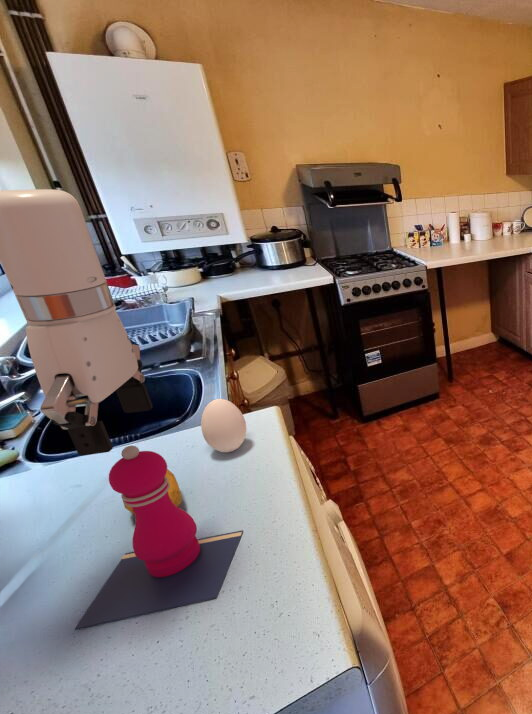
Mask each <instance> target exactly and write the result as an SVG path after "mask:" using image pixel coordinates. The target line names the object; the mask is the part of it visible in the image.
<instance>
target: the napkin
mask: <svg viewBox="0 0 532 714" xmlns="http://www.w3.org/2000/svg"><path fill="white" fill-rule="evenodd" d="M243 533H244V530H243V529H241V530H237V531H236V530H235V531H231V532H226V533H221V534H217V535H210V536H207V537H201V538H197V540H198V543H199V545H200V552H199V554H198V556H197V558H196V559H195V560H194V561H193V562H192V563H191V564H190V565H189V566H187V567H186V568H185V569H183V570H181V571H179V572H178V573H175V574H173V575H170V576H166V577H154V576H152V575H150V573H149V572H148V570H147V567H146V565H145V561H143V560H140V559H138V558H137V556H136V555H135V553H134V551H130V552H126V553H124V554H123V555H122V557H121V559H120V560H119V562H118V564H117V565H116V567H115V568H114V569H113V571H112V573H111V574H110V575H109V577H108V578H107V580H106V581H105V583H104V584H103V585H102V587H101V589H100V590H99V592H98V593H97V595H95V597H94V598H93V600H92V601H91V604H90V605H89V606H88V608H87V609H86V611H85V612H84V613H83V615H82V617H81V618H80V619H79V621H78V622H77V623H76V625H75V627H74V628H73V629H74V631H78V630H79V631H80V630H83V629H88V628H92V627H96V626H101V625H105V624H109V623H114V622H119V621H123V620H127V619H131V618H135V617H140V616H145V615H151V614H153V613H157V612H159V613H160V612H162V611H167V610H171V609H176V608H180V607H181V608H182V607H186V606H190V605H194V604H198V603H201V602H202V603H203V602H207V601H211V600H216V599H217V598H218V596H219V594H220V591H221V589H222V586H223V583H224V582H225V580H226V579H225V578H226V576H227V575H228V574H227V573H228V570H229V569H230V567H231V566H230V565H231V563H232V561H233V558H234V555H235V553H236V551H237V548H238V546H239V543H240V541H241V538H242V535H243Z"/></svg>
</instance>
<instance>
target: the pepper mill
mask: <svg viewBox="0 0 532 714" xmlns="http://www.w3.org/2000/svg"><path fill="white" fill-rule="evenodd" d="M120 454H121V458H120V459H119V460H117V461H116V462H115V463H114V464H113V465H112V467H111V468H110V470H109V474H108V482H109V483H108V484H109V486H110V487H111V489H112V490H113V491H114V492H116V493H118V494H121V499H122V501H123V500H124V503H123V505H124V504H125V505H126V506H128V507H132V509H133V510H134V513H135V515H134V516H135V525H134V530H133V535H132V549H133V552H134V553H135V555H136V556H137V558H138V559H140V560H143V561H145V565H146V567H147V570H148V572H149V573H150V575H152V576H154V577H166V576H170V575H173V574H175V573H178V572H179V571H181V570H183V569H185V568H186V567H187V566H189V565H190V564H191V563H192V562H193V561H194V560H195V559H196V558H197V556H198V554H199V552H200V545H199V543H198V540H197V539H198V538H197V537H196V534H197V529H198V528H197V524H196V521H195V519H194V518H193V517H192V516H191V515H190V514H189V512H187V511H186V510H184V509H182V508H180V507H179V506H178V507H177V506H176V505H175V504H174V503H173V502H172V501H171V499H170V497H169V494H168V490H169V488H170V484H169V482H168V479H167V477H165V475H166V473H167V469H168V463H167V461H166V459H165V458H164V457H163V455H161V454H159V453H158V452H155V451H152V450H141V451H140V449H139V447H138V446H136V445H128V446H125V447H124V448H122V450H121V453H120Z"/></svg>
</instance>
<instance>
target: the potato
mask: <svg viewBox="0 0 532 714" xmlns="http://www.w3.org/2000/svg"><path fill="white" fill-rule="evenodd" d="M165 477H167V479H168V482H169V484H170V488H169V490H168V494H169V497H170V499H171V501H172V502H173V503H174V504H175V505H176V506H177V507H179V505H180V504H181V503H182V497H183V496H182V492H181V490H180V486H179V483H178V480H177V478H176V476H175V474H174V473H173V471H171V470H170V469H168V468H167V473H166V475H165ZM122 503H123V506H124V508H125V510H127V511H129V512H130V513H131V514H133V515H134V516H135V513H134V510H133V509H132V507H128V506H126V505H125V504H124V500H123V499H122Z"/></svg>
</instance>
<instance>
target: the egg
mask: <svg viewBox="0 0 532 714" xmlns="http://www.w3.org/2000/svg"><path fill="white" fill-rule="evenodd" d="M200 428H201V433H202V436H203V439H204V441H205V442H206V444H207V445H208V446H209V447H210V448H212V449H213V450H215V451H217V452H220V453H231V452H234V451H235V450H237V449H238V448H240V446H241V445H242V444H243V442H244V441H245V439H246V435H247V428H248V427H247V422H246V419H245V417H244V414H243V413H242V411H241V409H239V408H238V406H237V405H235V404H234V403H233V402H232V401H230V400H228V399H224V398H216V399H213V400H211V401H210V402H209V403H208V404H207V405H206V406H205V408H204V409H203V412H202V415H201V421H200Z"/></svg>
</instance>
